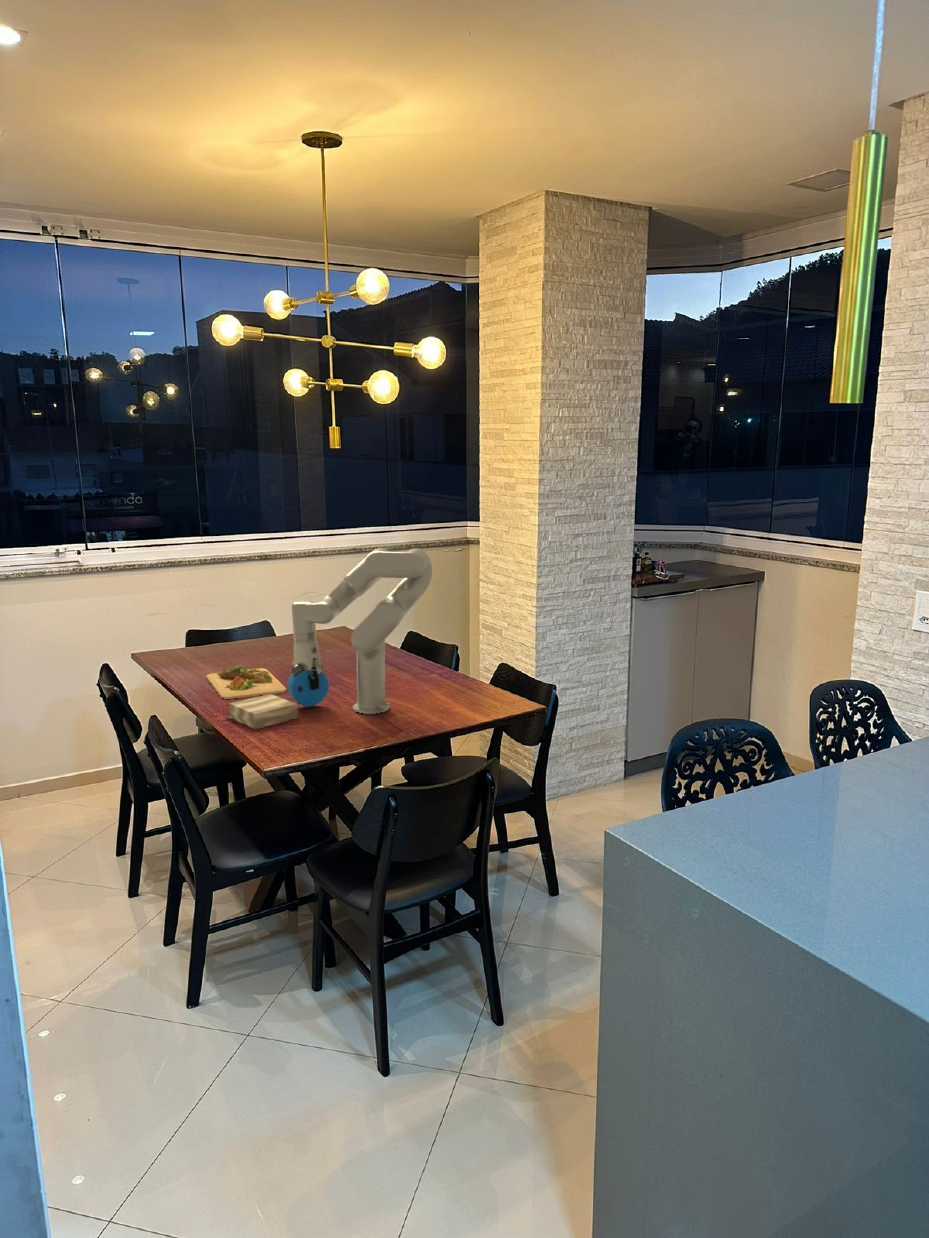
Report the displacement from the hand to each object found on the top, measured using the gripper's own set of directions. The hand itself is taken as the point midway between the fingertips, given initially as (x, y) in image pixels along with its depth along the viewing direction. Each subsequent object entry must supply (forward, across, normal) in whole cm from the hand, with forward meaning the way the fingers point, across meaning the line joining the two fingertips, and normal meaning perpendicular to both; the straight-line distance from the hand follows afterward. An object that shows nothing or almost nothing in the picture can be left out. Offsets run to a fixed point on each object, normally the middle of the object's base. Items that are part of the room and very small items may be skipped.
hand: (308, 686), depth 294 cm
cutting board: (+7, +42, 0) cm, 42 cm away
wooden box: (+7, +1, +18) cm, 19 cm away
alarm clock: (+7, 0, 0) cm, 7 cm away
